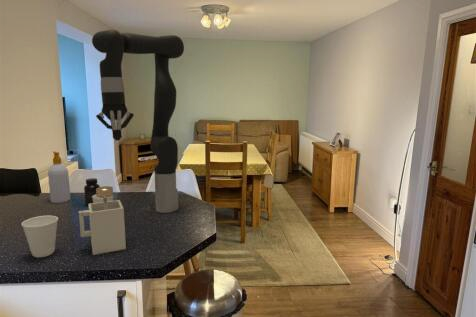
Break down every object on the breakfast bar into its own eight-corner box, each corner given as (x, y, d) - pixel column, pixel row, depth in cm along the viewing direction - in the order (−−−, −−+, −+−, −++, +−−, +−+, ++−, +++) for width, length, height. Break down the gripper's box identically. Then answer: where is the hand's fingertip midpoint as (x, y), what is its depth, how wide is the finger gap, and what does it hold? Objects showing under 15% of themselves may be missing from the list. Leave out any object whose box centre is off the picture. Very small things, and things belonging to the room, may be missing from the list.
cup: (35, 247, 108) (32, 215, 106) (66, 246, 109) (63, 214, 107) (18, 261, 98) (14, 227, 97) (52, 260, 99) (49, 226, 97)
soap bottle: (67, 196, 165) (63, 150, 161) (73, 200, 158) (68, 152, 154) (48, 199, 159) (43, 151, 155) (53, 204, 152) (48, 154, 148)
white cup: (107, 222, 130) (105, 198, 128) (89, 221, 132) (87, 197, 130) (118, 216, 138) (116, 193, 136) (101, 214, 139) (99, 192, 137)
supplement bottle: (104, 203, 155) (102, 178, 152) (91, 207, 149) (89, 181, 147) (95, 201, 158) (93, 177, 156) (82, 204, 152) (80, 179, 150)
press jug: (121, 237, 116) (119, 199, 114) (125, 248, 107) (123, 208, 105) (81, 244, 110) (78, 204, 108) (82, 257, 102) (78, 214, 99)
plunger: (118, 235, 114) (115, 184, 111) (121, 244, 108) (118, 189, 104) (95, 239, 111) (91, 186, 108) (96, 248, 104) (92, 192, 101)
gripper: (130, 90, 120) (134, 137, 123) (91, 91, 114) (96, 140, 117) (134, 90, 113) (138, 139, 117) (93, 91, 107) (98, 143, 111)
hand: (117, 140), depth 117 cm, fingers closed
